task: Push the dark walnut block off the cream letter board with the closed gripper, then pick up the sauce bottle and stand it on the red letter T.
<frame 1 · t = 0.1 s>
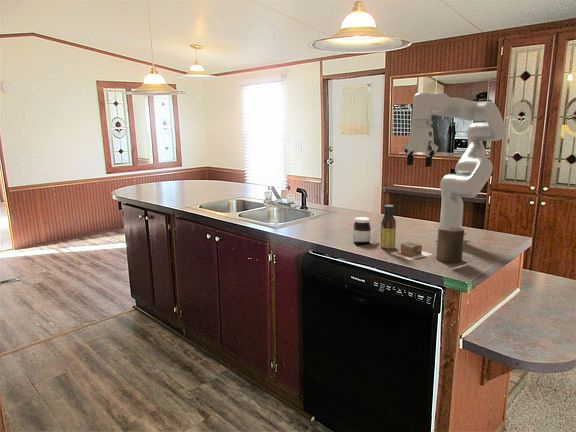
hand: (418, 165, 176), 37 cm above the worktop, tool pointing down, fingers open, 9 cm apart
spread jar: (365, 243, 194), on the worktop
brown cylindrical pedestal: (448, 262, 167), on the worktop
letter board: (410, 255, 175), on the worktop
sauce bottle: (387, 250, 183), on the worktop
walnut block: (410, 253, 174), point 1 cm above the worktop, touching letter board
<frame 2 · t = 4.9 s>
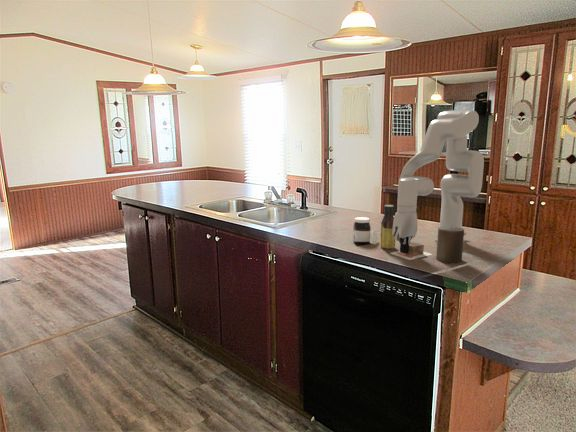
hand: (404, 252, 172), 2 cm above the worktop, tool pointing down, fingers closed
walnut block: (412, 253, 175), point 1 cm above the worktop, touching gripper, letter board
everything else where it was.
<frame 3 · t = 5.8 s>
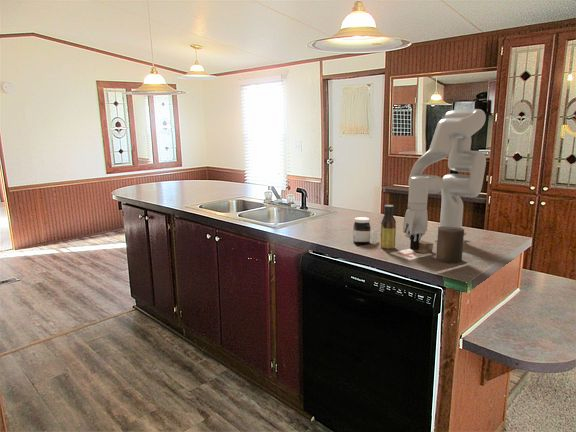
hand: (414, 249, 175), 2 cm above the worktop, tool pointing down, fingers closed
walnut block: (421, 251, 178), point 1 cm above the worktop, tilted 7°, touching gripper, letter board
everything else where it was.
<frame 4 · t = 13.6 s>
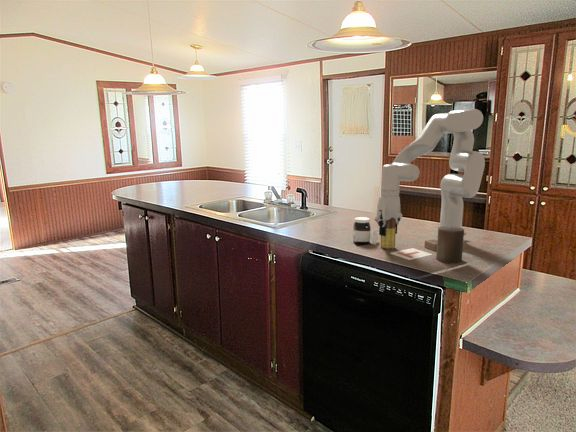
hand: (388, 233, 182), 7 cm above the worktop, tool pointing down, fingers closed on sauce bottle, 6 cm apart
sauce bottle: (387, 250, 183), on the worktop, touching gripper
walnut block: (434, 250, 182), on the worktop
everything else where it was.
when the fingers open (9 cm above the worktop, at t = 20.8 s): sauce bottle drops 1 cm, resting on letter board.
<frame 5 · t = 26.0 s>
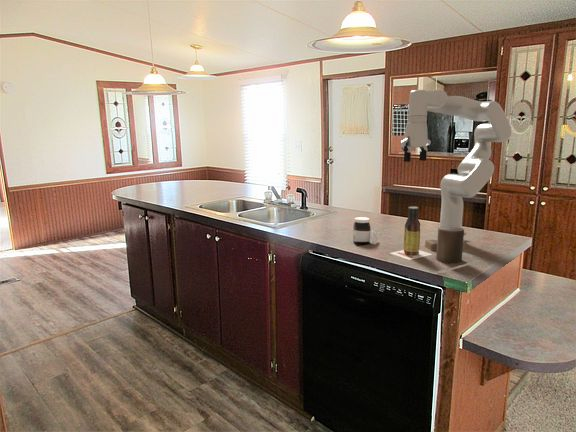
hand: (415, 161, 180), 38 cm above the worktop, tool pointing down, fingers open, 9 cm apart
sauce bottle: (411, 254, 175), point 1 cm above the worktop, touching letter board
at the end: walnut block inside the target area (1.6 cm from its centre), on the worktop; sauce bottle 0.1 cm off-centre on the letter board, point 0.6 cm above the letter board's base; sauce bottle tilted 0° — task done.
